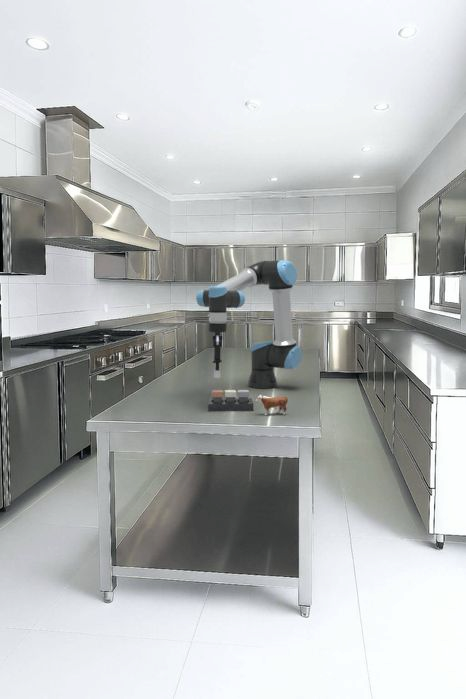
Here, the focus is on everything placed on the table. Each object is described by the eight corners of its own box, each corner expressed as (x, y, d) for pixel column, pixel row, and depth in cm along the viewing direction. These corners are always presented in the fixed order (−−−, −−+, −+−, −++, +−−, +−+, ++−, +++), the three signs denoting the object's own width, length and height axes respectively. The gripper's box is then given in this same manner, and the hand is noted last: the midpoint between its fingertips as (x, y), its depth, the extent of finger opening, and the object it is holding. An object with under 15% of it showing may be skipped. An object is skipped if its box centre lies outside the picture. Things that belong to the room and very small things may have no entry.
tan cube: (222, 401, 240) (222, 390, 240) (223, 404, 236) (223, 392, 235) (212, 401, 240) (212, 390, 239) (212, 404, 235) (212, 392, 235)
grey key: (248, 401, 241) (248, 389, 240) (248, 403, 236) (248, 391, 235) (237, 401, 240) (237, 389, 240) (238, 404, 236) (238, 392, 235)
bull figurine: (254, 413, 229) (254, 394, 228) (286, 412, 230) (287, 393, 229) (255, 415, 224) (256, 396, 223) (288, 415, 225) (288, 395, 224)
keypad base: (251, 404, 245) (251, 398, 244) (253, 410, 233) (253, 404, 232) (208, 404, 244) (208, 398, 244) (208, 411, 232) (208, 404, 232)
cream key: (235, 401, 240) (235, 389, 240) (235, 404, 236) (236, 392, 235) (224, 401, 240) (224, 390, 240) (225, 404, 236) (225, 392, 235)
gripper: (208, 321, 240) (208, 375, 243) (208, 323, 227) (208, 380, 230) (226, 321, 240) (225, 375, 243) (226, 323, 227) (226, 380, 230)
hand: (217, 377), depth 236 cm, fingers closed
